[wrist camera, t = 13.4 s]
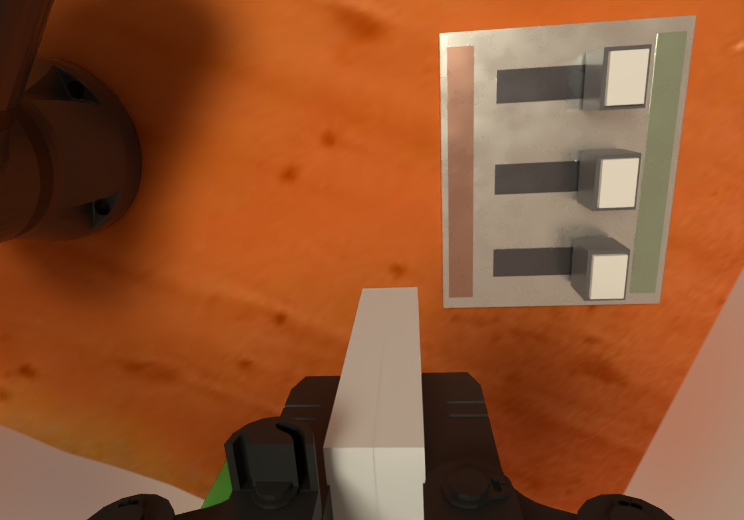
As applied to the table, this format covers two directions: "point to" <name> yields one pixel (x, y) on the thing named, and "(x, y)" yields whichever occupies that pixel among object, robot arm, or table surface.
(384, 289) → the robot arm
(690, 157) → the table surface
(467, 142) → the panel
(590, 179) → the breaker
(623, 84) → the block
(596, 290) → the breaker
